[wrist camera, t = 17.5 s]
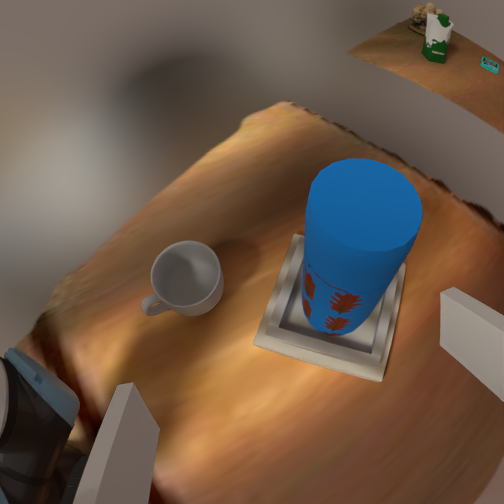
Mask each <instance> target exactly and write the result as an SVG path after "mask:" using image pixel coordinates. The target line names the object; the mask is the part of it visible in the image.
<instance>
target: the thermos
mask: <svg viewBox="0 0 504 504" xmlns="http://www.w3.org/2000/svg"><path fill="white" fill-rule="evenodd" d="M422 219H423V215H422V202H421V200H420V198H419V196H418V194H417V192H416V189H415V187H414V186H413V185H412V184H411V183H410V182H409V181H408V180H407V179H406V178H405V177H404V175H403V174H401V173H400V172H398V171H396V170H395V169H393V168H391V167H390V166H388V165H386V164H383V163H380V162H377V161H373V160H370V159H354V158H350V159H346V160H342V161H338V162H334V163H332V164H331V165H329V166H327V167H326V168H324V169H323V170H321V171H320V172H319V174H318V175H317V176H316V178H315V179H314V181H313V182H312V183H311V188H310V192H309V197H308V202H307V207H306V219H305V241H304V260H303V276H302V292H301V296H302V306H303V311H304V315H305V317H306V318H307V320H308V322H309V324H310V325H311V326H313V327H314V328H315V329H316V330H318V331H319V332H321V333H324V334H327V335H330V336H343V335H345V334H348V333H351V332H353V331H354V330H356V329H357V328H358V327H359V326H360V325H361V324H362V323H363V322H364V321H365V320H366V319H367V318H368V317H369V315H370V314H371V312H372V311H373V309H374V308H375V306H376V305H377V303H378V302H379V300H380V299H381V297H382V296H383V294H384V293H385V291H386V289H387V288H388V286H389V285H390V283H391V281H392V280H393V278H394V277H395V275H396V273H397V272H398V270H399V268H400V267H401V265H402V263H403V262H404V260H405V258H406V257H407V255H408V253H409V251H410V250H411V248H412V246H413V244H414V242H415V239H416V236H417V234H418V231H419V228H420V225H421V222H422Z"/></svg>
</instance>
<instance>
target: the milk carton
mask: <svg viewBox="0 0 504 504" xmlns="http://www.w3.org/2000/svg"><path fill="white" fill-rule="evenodd" d="M453 25H454V24H453V23H451V22H450V21H449V17H448V16H446V15H444V14H441V13H439V14H438V15H434V14H429V13H427V27H426V33H425V39H424V44H423V49H422V54H423V55H424V56H425V57H426V58H427V60H428V61H433V62H438V63H444V62H445V58H446V53H447V48H448V44H449V39H450V34H451V31H452V28H453Z"/></svg>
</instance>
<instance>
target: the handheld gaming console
mask: <svg viewBox="0 0 504 504" xmlns="http://www.w3.org/2000/svg"><path fill="white" fill-rule="evenodd" d="M485 59H487V60H489V61H491V62H492V63H494V64H496V67H495V66H493V65H491V64H492V63H491V64H489V63H487V62H485ZM480 65H481V66H482V67H484V68H486V69H488V70H490V71H491V72H493V73H496V74H498V69H499V64H497V63H496V62H494V61H492V60H490V59H488V58H486V57H484V56H483V57H482V61H481V64H480Z"/></svg>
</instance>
